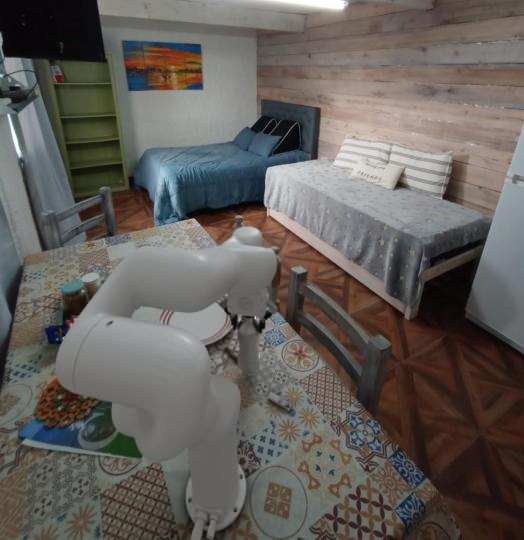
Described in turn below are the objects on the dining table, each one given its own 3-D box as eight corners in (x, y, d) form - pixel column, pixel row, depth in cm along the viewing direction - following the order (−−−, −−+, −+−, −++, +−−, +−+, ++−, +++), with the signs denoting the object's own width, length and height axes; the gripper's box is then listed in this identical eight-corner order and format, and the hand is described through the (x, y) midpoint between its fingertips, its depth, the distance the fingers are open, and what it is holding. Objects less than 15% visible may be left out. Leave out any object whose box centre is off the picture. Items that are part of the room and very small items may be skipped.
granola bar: (266, 399, 85) (266, 396, 85) (270, 392, 87) (270, 389, 87) (288, 412, 82) (288, 410, 82) (292, 405, 84) (292, 402, 83)
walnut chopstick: (240, 362, 96) (240, 359, 96) (238, 364, 95) (237, 361, 95) (226, 348, 101) (226, 346, 100) (224, 350, 100) (223, 347, 100)
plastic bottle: (258, 379, 89) (258, 324, 81) (234, 375, 90) (233, 320, 82) (262, 360, 94) (263, 307, 87) (240, 356, 96) (239, 303, 88)
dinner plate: (145, 318, 113) (143, 311, 111) (211, 286, 129) (210, 279, 128) (180, 371, 93) (179, 363, 92) (252, 326, 110) (252, 318, 108)
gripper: (210, 279, 78) (213, 335, 84) (279, 287, 75) (278, 343, 82) (218, 262, 85) (221, 314, 91) (282, 268, 82) (281, 321, 89)
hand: (248, 327), depth 87 cm, fingers closed on plastic bottle, 6 cm apart
